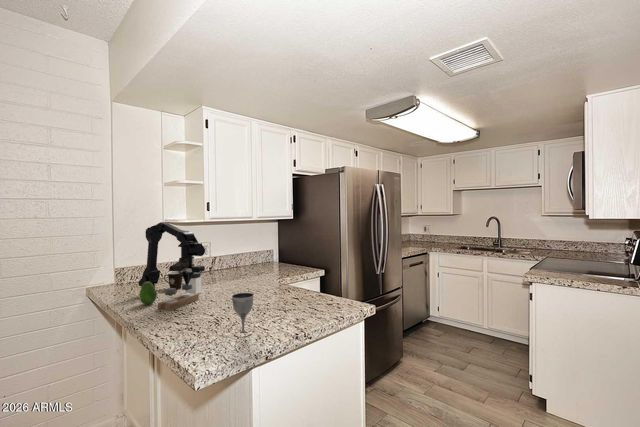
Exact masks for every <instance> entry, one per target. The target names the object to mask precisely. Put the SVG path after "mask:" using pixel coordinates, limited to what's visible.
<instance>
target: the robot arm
mask: <svg viewBox="0 0 640 427" xmlns="http://www.w3.org/2000/svg"><path fill="white" fill-rule="evenodd" d="M144 232H145V239H146V241H147V242H148V245H147V258H146V268H145V269H144V270H143V271H142V276H141V278H140V279H139V281H138V283H137V284H138V286H139V287H142V285H143V283H144V282H147V281H149V282H151V283H152V284H153V286H154V287H155V288H156V284H158V283H159V280H160V277H161V270H160V269H158V267H157V264H158V263H157V262H158V250H159V242H160V241H161V240H162V237H163V234H164V233H167V234H170V235H171V236H174V237H175V238H176V240H177V241H178V242H180V243H179V244H178V245H177V247H178V248H180V257H179V259H178V261H176V262H175V263H173V264H171V265H170V266H169V268H168V270H169V272H178V273H180V274H181V275H182V276H183V277H182V279H183V281H184V282H185V283H184V284H189V282H190V279H191V277H192V275H193V274H194V272H201V273H202V272H206V268H205V266H204V265H201V264H200V265H195V264H194V263H193V262H194V259H195V257H203V256H204V255H205V253H206V248H205V246H204V245H203V243H202V242H199V241H198V239H197V237H196V236H195V233H194V232H192V231H189V230H183V229H181V228H179V227H176V226H174V225H172V224H171V223H169V222H167V221H162V222H159V223H156V224H154V225H152V226H149V227H147V228H146V229H145V231H144Z"/></svg>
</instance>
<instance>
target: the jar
mask: <svg viewBox="0 0 640 427" xmlns="http://www.w3.org/2000/svg"><path fill="white" fill-rule="evenodd" d="M201 273H202V272H194V274H193V275H192V277H191V279H190V282H189V283H192V289H189V291H186V290H184V291H185V293H192V294H198V295H199V294H202V276H201V275H202V274H201ZM185 293H184V294H185Z"/></svg>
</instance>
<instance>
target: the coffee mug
mask: <svg viewBox="0 0 640 427" xmlns="http://www.w3.org/2000/svg"><path fill="white" fill-rule="evenodd" d="M178 272H179V271H169V272H168V273H167V274H164V276H163V280H164V281H165V282H166V283H168V286H169V288H176V291H177V290H180V289H182V282H183V276H182V275H181V274H180V273H178ZM166 276H167V277H168V280H166V278H165V277H166Z"/></svg>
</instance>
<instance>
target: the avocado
mask: <svg viewBox="0 0 640 427" xmlns="http://www.w3.org/2000/svg"><path fill="white" fill-rule="evenodd" d="M140 287H141V288H140V290H139V300H140V302H141V303H142V304H143V305H145V306H146V305H151V304H153V303H154V302H155V301H156V300H157V296H158V291H157V290H156V286H155V287H154V286H153V284H152V283H151V282H149V281H147V282H144V283H143V285H142V286H140Z"/></svg>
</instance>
